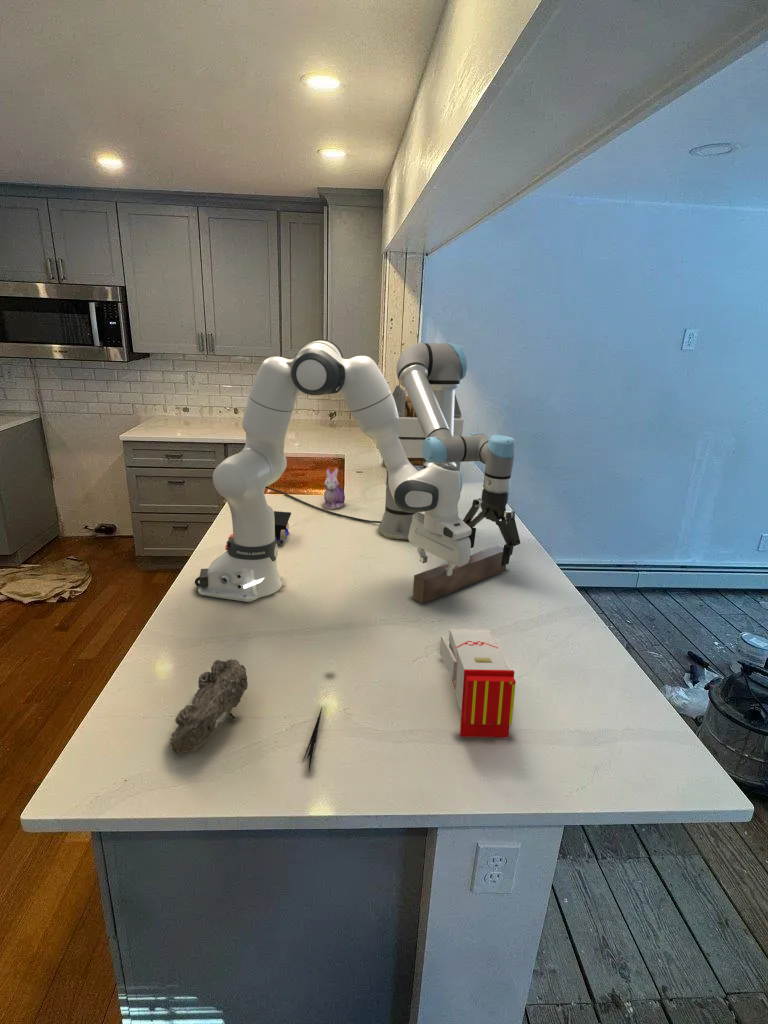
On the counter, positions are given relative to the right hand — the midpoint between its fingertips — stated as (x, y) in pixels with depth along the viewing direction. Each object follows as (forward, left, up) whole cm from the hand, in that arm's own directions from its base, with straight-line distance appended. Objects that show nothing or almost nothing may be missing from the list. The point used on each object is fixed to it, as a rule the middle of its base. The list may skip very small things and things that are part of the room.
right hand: (487, 556), depth 171 cm
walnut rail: (+1, -11, -6) cm, 13 cm away
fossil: (+11, -92, -6) cm, 93 cm away
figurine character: (-58, -37, -6) cm, 69 cm away
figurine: (-75, -2, -6) cm, 76 cm away
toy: (+36, -47, -6) cm, 59 cm away
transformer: (-91, +60, -6) cm, 109 cm away
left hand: (0, -22, +2) cm, 23 cm away
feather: (+23, -77, -6) cm, 81 cm away
